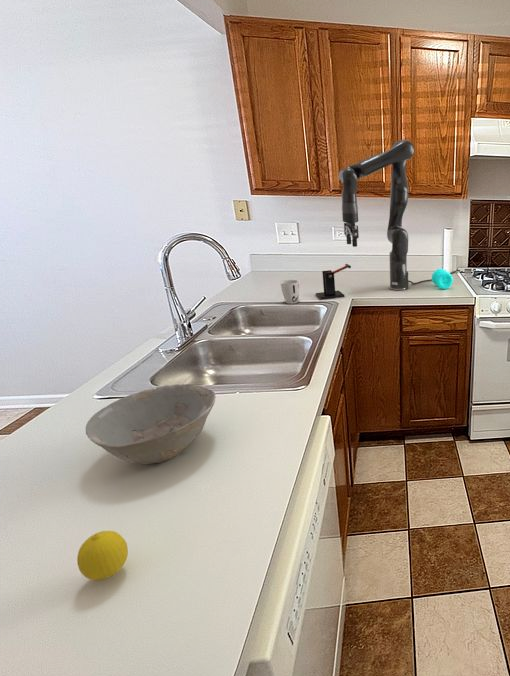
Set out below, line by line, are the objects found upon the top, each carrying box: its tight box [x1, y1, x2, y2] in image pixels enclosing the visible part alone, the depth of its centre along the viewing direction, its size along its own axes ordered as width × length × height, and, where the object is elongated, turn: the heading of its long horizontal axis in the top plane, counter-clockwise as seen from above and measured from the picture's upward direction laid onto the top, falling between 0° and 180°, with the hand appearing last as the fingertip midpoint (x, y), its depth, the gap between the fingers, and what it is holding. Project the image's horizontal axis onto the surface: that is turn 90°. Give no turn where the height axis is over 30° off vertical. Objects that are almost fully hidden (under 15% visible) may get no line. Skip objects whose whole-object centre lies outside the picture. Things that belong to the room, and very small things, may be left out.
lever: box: [332, 263, 352, 275], centre depth 200 cm, size 13×5×2 cm, turn 122°
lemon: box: [76, 530, 129, 581], centre depth 59 cm, size 6×6×8 cm
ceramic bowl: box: [85, 383, 216, 465], centre depth 86 cm, size 22×23×10 cm
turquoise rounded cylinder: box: [431, 268, 454, 290], centre depth 223 cm, size 10×10×10 cm
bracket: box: [315, 269, 345, 301], centre depth 199 cm, size 12×9×13 cm
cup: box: [280, 279, 300, 305], centre depth 189 cm, size 8×8×10 cm
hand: (351, 245), depth 199 cm, fingers open, 8 cm apart
